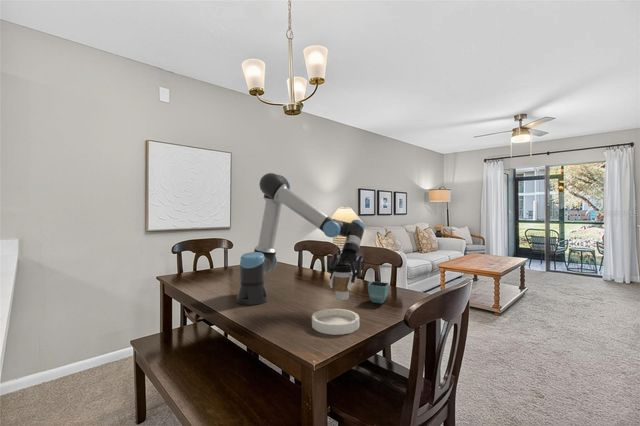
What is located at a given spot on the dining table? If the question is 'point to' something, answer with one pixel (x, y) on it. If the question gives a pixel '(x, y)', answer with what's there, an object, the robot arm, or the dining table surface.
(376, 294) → the flower pot
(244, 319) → the dining table surface
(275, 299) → the dining table surface
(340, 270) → the coffee cup
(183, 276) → the dining table surface
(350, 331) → the serving bowl
